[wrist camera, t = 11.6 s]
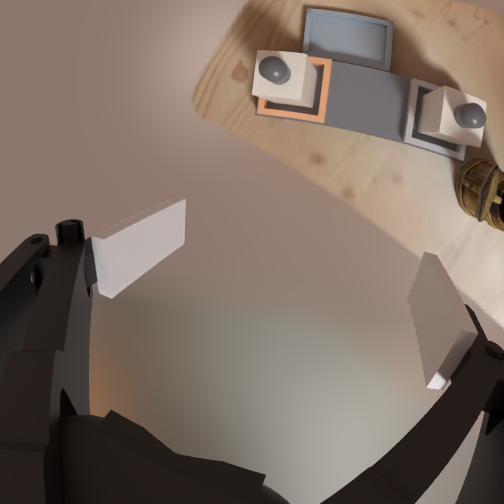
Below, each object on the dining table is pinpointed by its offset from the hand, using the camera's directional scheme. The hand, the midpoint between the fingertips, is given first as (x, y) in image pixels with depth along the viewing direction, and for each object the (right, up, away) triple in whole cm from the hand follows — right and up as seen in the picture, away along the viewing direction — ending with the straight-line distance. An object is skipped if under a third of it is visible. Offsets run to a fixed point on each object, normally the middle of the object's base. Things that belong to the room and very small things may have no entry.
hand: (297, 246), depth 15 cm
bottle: (+3, +21, +19) cm, 29 cm away
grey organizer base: (+13, +20, +20) cm, 31 cm away
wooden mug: (+29, +10, +19) cm, 36 cm away
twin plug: (+21, +17, +15) cm, 31 cm away
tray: (+11, +29, +17) cm, 35 cm away
